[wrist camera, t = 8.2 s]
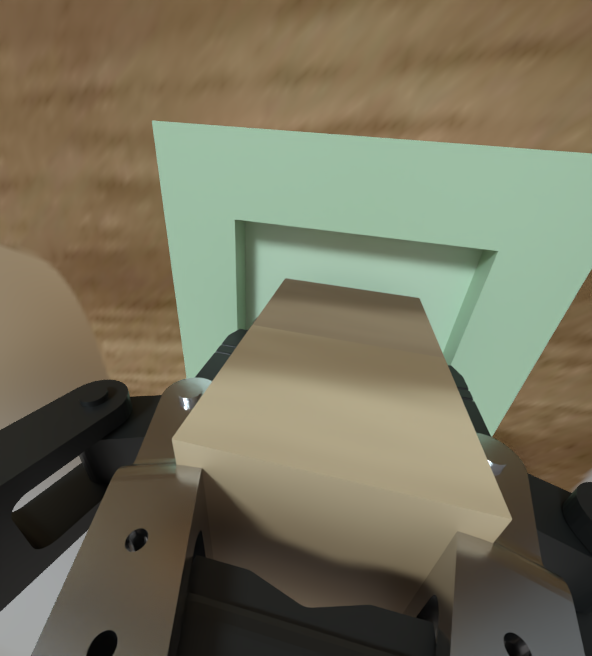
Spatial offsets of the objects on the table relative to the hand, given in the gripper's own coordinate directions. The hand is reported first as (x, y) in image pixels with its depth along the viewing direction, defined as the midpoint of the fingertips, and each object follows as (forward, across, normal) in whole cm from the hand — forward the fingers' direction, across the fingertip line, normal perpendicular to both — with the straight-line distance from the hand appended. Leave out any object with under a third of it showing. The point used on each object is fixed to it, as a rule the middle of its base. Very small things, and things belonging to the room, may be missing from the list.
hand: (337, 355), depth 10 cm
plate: (+3, 0, 0) cm, 3 cm away
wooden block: (+1, 0, 0) cm, 1 cm away
